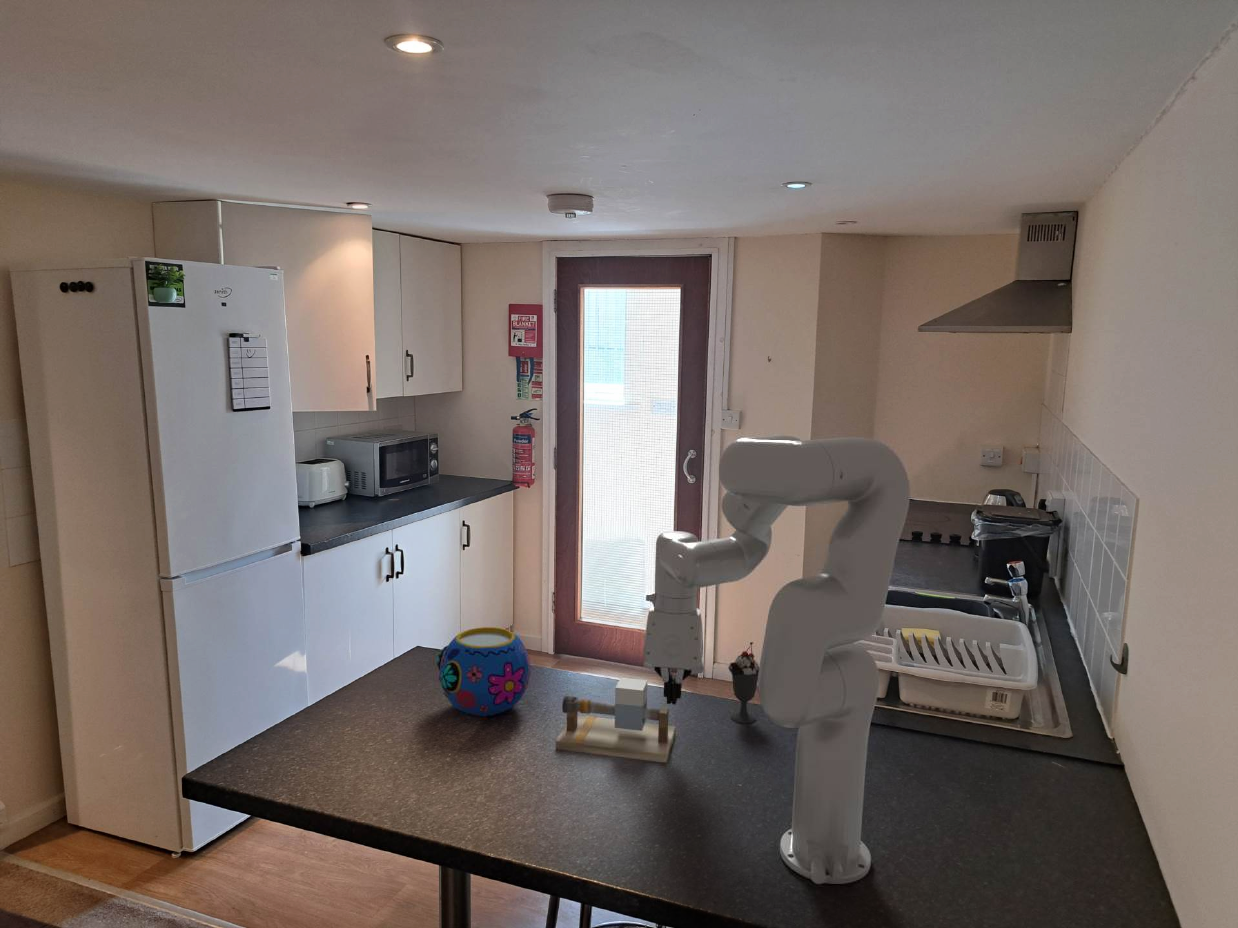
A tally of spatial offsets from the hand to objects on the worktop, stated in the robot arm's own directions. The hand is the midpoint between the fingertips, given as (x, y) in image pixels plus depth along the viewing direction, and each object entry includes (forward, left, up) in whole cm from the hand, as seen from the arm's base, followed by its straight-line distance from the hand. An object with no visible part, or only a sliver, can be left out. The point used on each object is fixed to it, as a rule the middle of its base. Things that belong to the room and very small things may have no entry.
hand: (672, 700), depth 147 cm
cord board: (0, +10, -9) cm, 13 cm away
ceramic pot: (+6, +38, -9) cm, 40 cm away
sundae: (+15, -12, -9) cm, 22 cm away
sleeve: (0, +7, -5) cm, 9 cm away
